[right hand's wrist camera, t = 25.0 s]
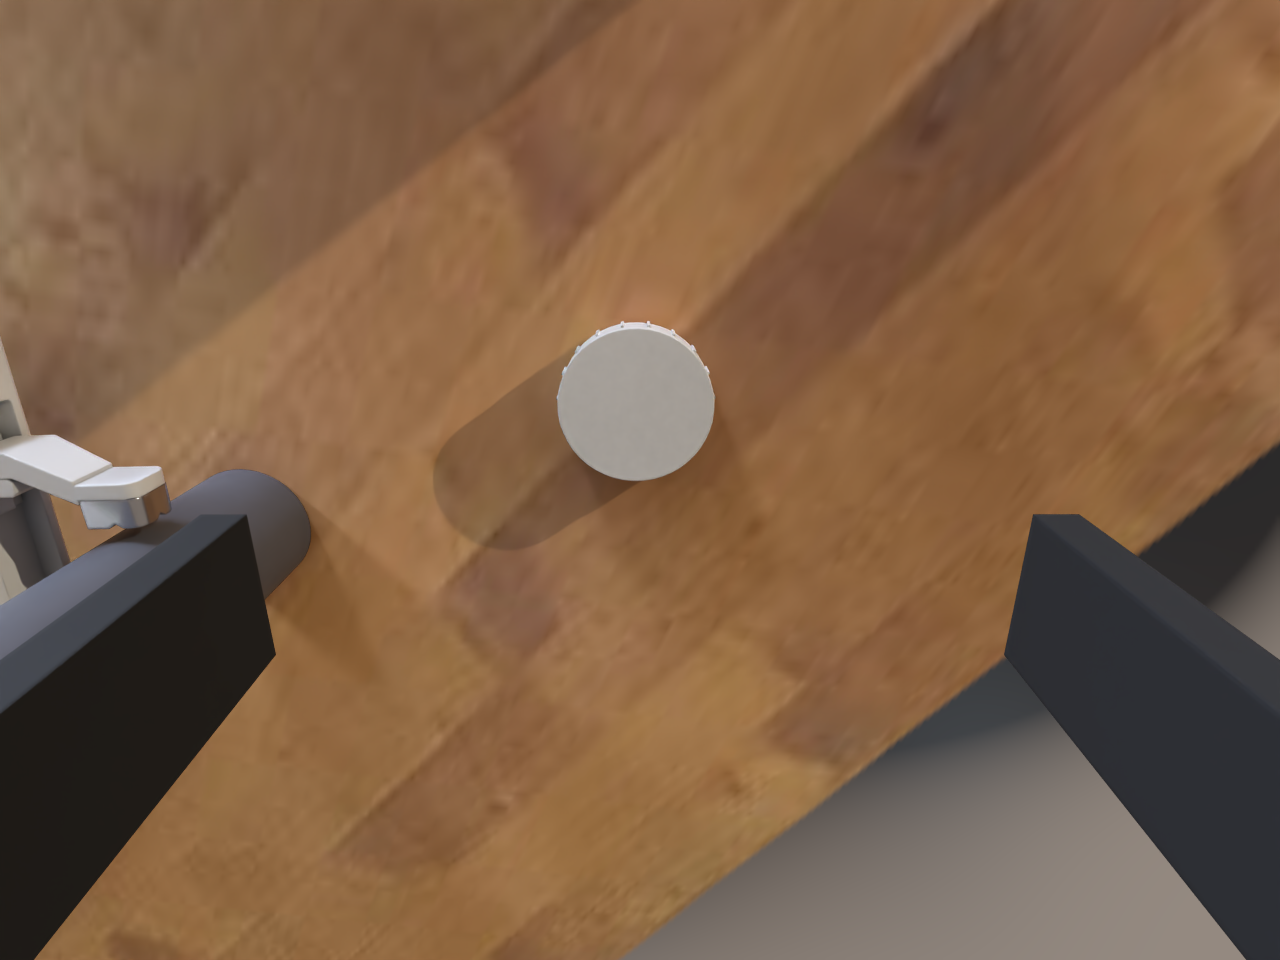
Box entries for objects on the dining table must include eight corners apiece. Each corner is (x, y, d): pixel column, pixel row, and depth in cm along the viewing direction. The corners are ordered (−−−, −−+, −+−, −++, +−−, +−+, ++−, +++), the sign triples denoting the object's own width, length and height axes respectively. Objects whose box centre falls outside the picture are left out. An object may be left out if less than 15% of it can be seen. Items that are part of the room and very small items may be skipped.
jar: (230, 593, 32) (-99, 900, 18) (166, 493, 30) (-253, 739, 16) (332, 556, 31) (78, 841, 17) (272, 451, 30) (-64, 668, 15)
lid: (708, 313, 28) (712, 318, 26) (716, 463, 30) (720, 476, 28) (551, 327, 28) (546, 333, 26) (570, 475, 30) (566, 489, 28)
